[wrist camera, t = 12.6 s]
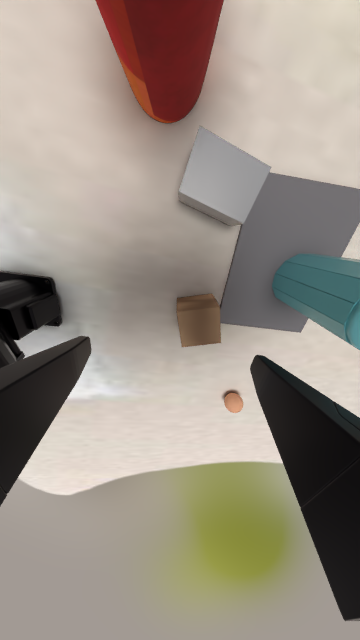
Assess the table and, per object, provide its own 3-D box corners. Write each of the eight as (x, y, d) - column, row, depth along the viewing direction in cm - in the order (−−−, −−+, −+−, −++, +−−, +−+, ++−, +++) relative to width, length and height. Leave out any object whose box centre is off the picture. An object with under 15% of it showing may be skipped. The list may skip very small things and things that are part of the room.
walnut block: (181, 328, 23) (181, 347, 19) (177, 297, 21) (176, 312, 17) (213, 324, 23) (220, 342, 19) (212, 293, 21) (219, 306, 17)
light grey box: (178, 200, 17) (178, 191, 13) (194, 151, 15) (199, 125, 12) (230, 226, 18) (243, 223, 14) (250, 182, 16) (271, 167, 13)
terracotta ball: (220, 400, 30) (224, 416, 27) (225, 388, 29) (229, 403, 26) (236, 401, 30) (242, 417, 28) (241, 389, 29) (248, 405, 26)
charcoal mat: (216, 321, 23) (216, 322, 22) (255, 171, 16) (257, 170, 15) (298, 331, 24) (300, 332, 23) (371, 193, 17) (375, 192, 16)
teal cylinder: (279, 310, 22) (356, 366, 12) (266, 270, 19) (348, 302, 10) (327, 288, 20) (452, 332, 11) (319, 243, 18) (468, 250, 9)
